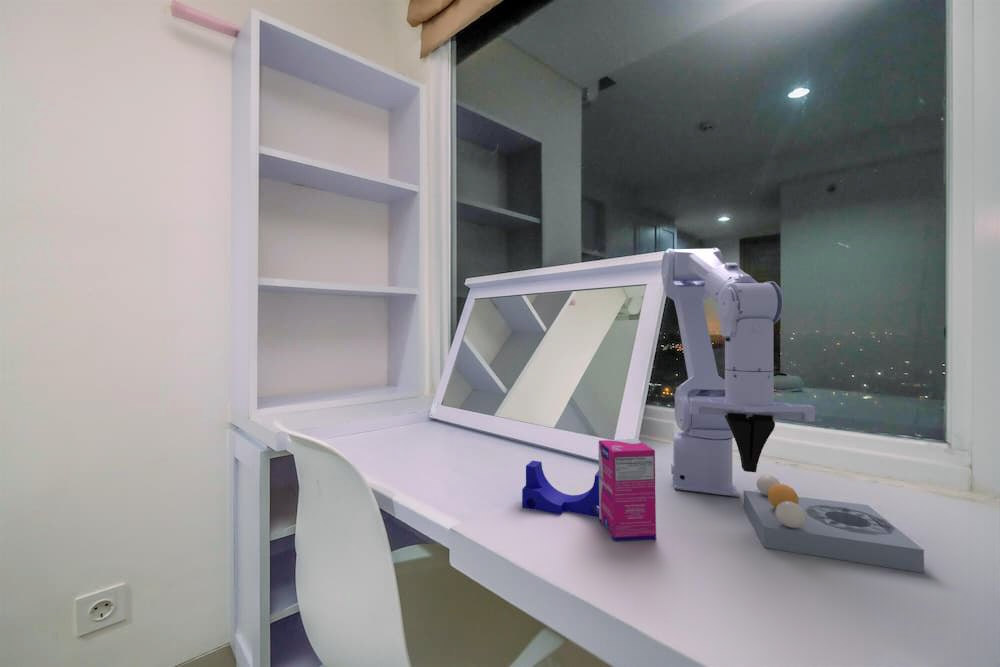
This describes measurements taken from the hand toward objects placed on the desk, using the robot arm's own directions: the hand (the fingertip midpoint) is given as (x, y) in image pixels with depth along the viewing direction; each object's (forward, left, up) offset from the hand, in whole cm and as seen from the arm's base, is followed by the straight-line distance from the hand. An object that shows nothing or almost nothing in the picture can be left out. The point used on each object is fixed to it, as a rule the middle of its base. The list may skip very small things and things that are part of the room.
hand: (748, 469), depth 57 cm
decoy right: (+3, -5, -4) cm, 7 cm away
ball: (+4, 0, -3) cm, 5 cm away
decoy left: (+3, +5, -4) cm, 7 cm away
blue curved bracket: (-25, -4, -8) cm, 26 cm away
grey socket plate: (+8, 0, -8) cm, 11 cm away
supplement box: (-16, -8, -8) cm, 19 cm away
